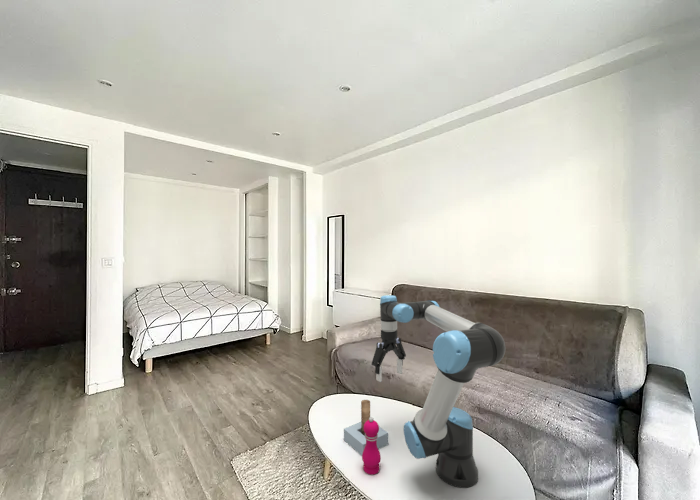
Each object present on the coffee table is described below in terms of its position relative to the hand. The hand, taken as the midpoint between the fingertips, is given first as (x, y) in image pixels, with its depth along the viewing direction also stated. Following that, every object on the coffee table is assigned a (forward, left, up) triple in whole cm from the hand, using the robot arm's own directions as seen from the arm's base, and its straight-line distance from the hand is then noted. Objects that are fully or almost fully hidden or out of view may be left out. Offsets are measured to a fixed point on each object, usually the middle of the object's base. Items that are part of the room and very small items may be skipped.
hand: (389, 377), depth 138 cm
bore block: (+4, +11, -27) cm, 30 cm away
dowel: (+4, +11, -26) cm, 29 cm away
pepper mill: (-10, +20, -28) cm, 35 cm away
